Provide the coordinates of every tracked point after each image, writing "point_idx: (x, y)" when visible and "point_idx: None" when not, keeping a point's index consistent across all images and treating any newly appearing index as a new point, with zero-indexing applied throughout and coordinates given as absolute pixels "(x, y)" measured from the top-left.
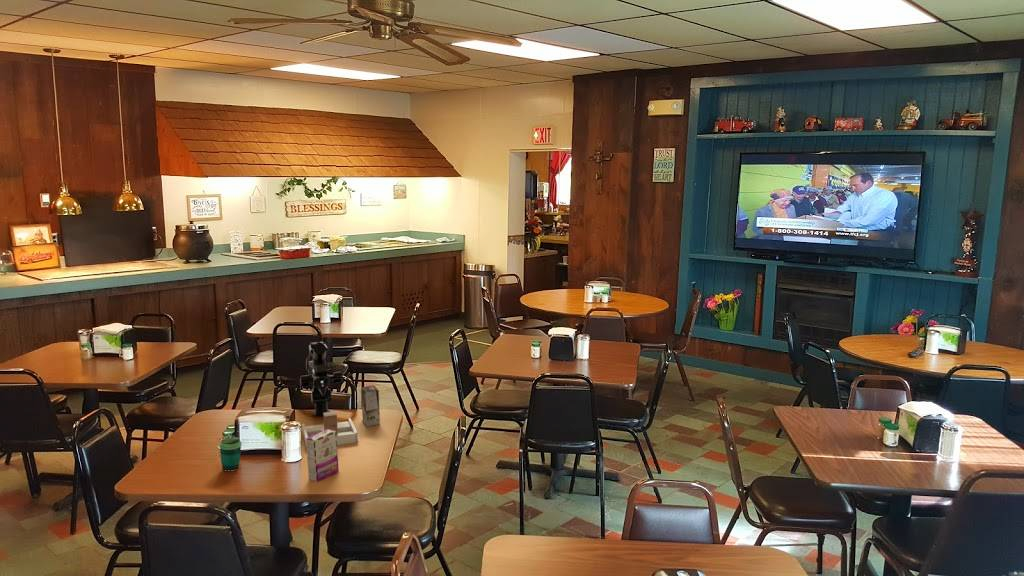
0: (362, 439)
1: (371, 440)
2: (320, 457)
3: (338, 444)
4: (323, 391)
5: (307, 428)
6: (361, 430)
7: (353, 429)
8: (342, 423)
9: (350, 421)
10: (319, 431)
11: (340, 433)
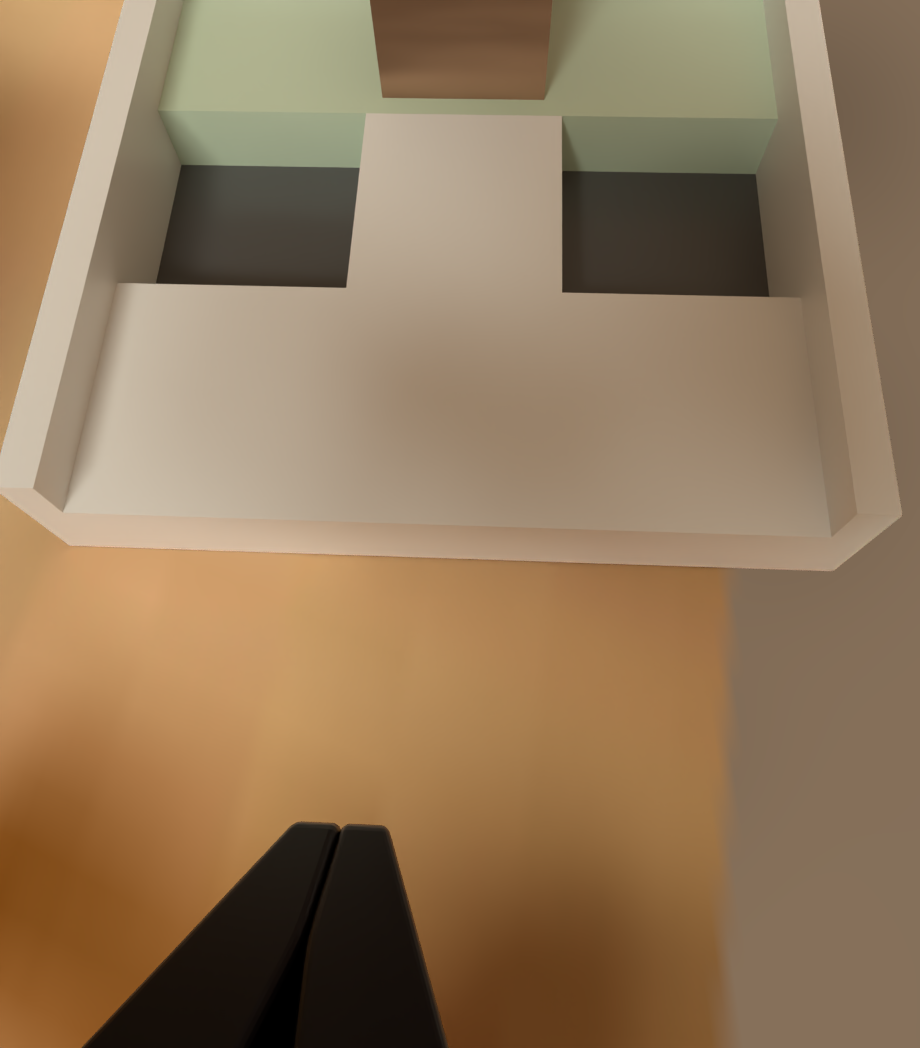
0: None
1: (40, 14)
2: None
3: None
4: (286, 940)
5: (780, 439)
6: (3, 330)
7: (149, 14)
8: (186, 449)
9: (65, 311)
10: (591, 303)
11: (330, 90)
